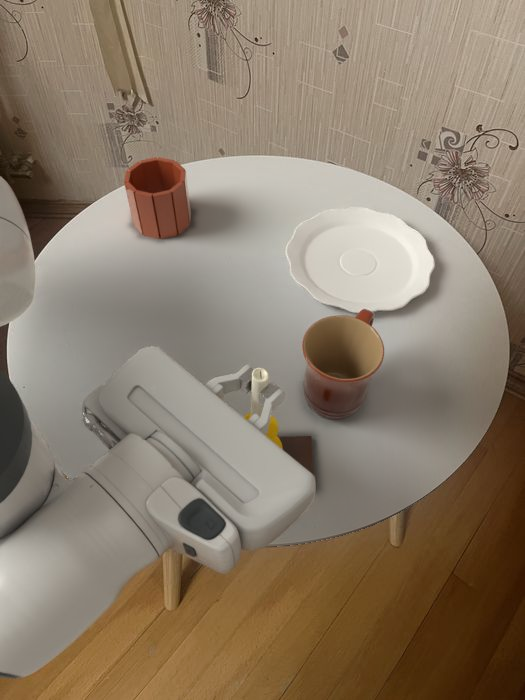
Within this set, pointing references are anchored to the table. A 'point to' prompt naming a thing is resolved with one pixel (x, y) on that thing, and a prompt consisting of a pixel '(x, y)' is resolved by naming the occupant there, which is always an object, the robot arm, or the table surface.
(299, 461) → the walnut mat
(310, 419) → the table surface
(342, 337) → the mug
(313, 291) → the plate
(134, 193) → the holder cup
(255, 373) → the candle
